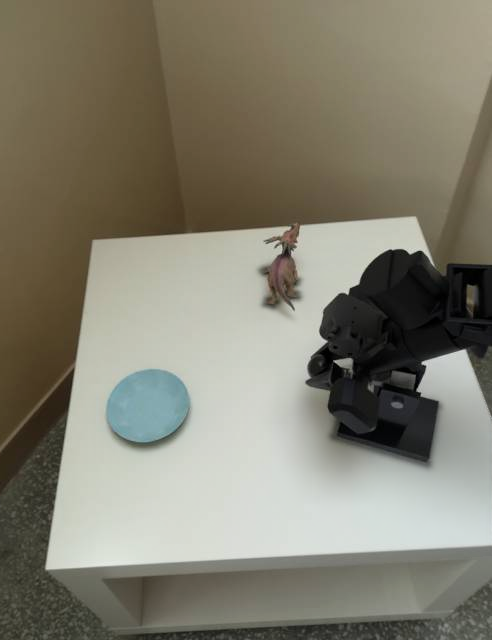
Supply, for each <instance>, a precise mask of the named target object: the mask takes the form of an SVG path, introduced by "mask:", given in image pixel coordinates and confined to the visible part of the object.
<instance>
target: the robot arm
mask: <svg viewBox="0 0 492 640" xmlns="http://www.w3.org/2000/svg"><path fill="white" fill-rule="evenodd" d="M468 286H471V287H473V299H472V301H473V303H472V311H471V310H470V308H468V307H467V306H468ZM318 333H319V336H320V337H321V338H322V339H323V340H324V341H326V343H324V344H323V345H322V346H321V347H320V348H319V349H317V350H316V351H315V352H314V353H313V354H312V355H311V356H310V359H311V358H312V357H314V356H316V355H320V354H323V355H327V356H329V357H330V358H331V359H332V360H333V361H334V362H333V363H332V368H331V370H330V371H327V372H324V373H322V374H319V375H316V376H314V377H309V378H308V379H306V380H305V382H304V383H305V385H307V386H308V387H309V388H314V389H318V390H323V391H327V392H329V395H328V399H327V400H328V401H327V405H326V407H327V410H328V412H329V414H330V415H332V416H333V417H334V418H335V419H337V420H338V421H339V422H340V421H341V422H342V423H344V424H345V425H347V426H348V427H349V428H351V429H352V430H353V431H355V432H356V433H357V434H361V433H366V432H370V431H372V430H375V428H376V425H377V419H378V412H379V404H380V398H379V397H377V396H376V395H375V394H374V383H373V381H372V376H373V375H376V376H377V377H379V378H380V379H381V380H382V381H383V380H386V379H390V371H392V370H395V369H399V368H402V367H406V366H407V367H408V368H409V369H410V370H411V371H413V372H415V371H419V370H421V366H422V365H423V362H426V361H429V360H433V359H436V358H440V357H443V356H446V355H447V356H448V355H451V354H453V353H457V352H461V351H464V350H469V351H470V352H471V353H472V354H473V355H474V356H475V357H476V358H477V359H479V360H480V359H481V360H482V359H485V357H486V354H487V352H488V350H489V347H492V264H481V263H480V264H479V263H457V262H456V263H455V262H453V263H452V262H451V263H450V262H448V263H446V265H445V275H443V274H442V273H441V272H440V271H439V270H438V268H436V267H435V266H434V265H433V263H432V262H431V259H430V257H428V256H427V254H426V253H425V252H424V251H423V250H420V249H419V250H417V251H414V252H412V253H410V252H409V251H408V250H406V249H403V248H395V249H392V248H389V249H388V250H387V249H386V250H385V251H383V252H381V253H380V254H378V255H377V256H375V258H374V259H372V261H371V262H369V264H368V265H367V266H366V267H365V269H364V270H363V272H362V274H361V275H360V279H359V282H358V284H356V285H353V286H351V287H349V290H348V293H345V292H340V293H337V295H335V297H334V298H333V299H332V300H331V301H330V302H329V303H328V304H327V305H326V306H325V307H324V308H323V310H322V317H321V322H320V326H319V329H318ZM346 359H351V362H350V367H349V371H348V370H347V369H346V370H344V369H343V368H341V367H342V366H340V365H339V364H338V363H337V362H336V361H341V360H346Z"/></svg>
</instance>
